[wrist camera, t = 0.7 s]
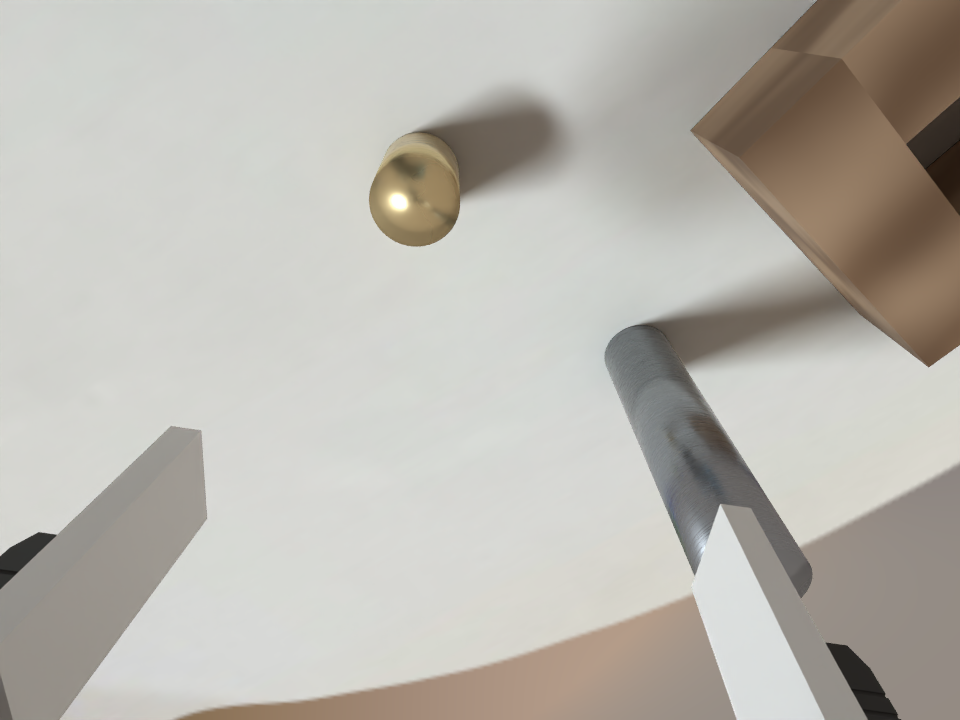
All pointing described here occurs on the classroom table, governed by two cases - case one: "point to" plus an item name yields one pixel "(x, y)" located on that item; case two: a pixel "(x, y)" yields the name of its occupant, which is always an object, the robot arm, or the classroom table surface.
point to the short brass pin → (416, 190)
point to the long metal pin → (690, 449)
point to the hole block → (858, 157)
